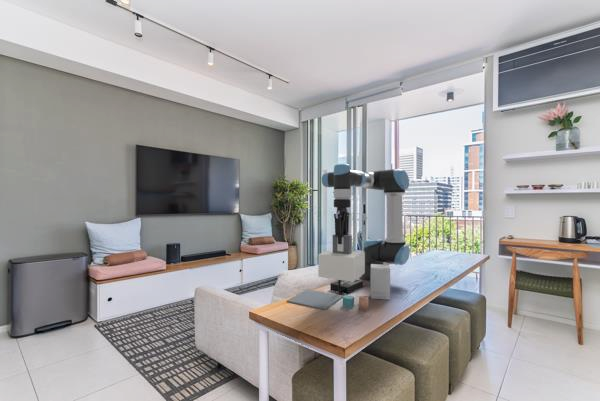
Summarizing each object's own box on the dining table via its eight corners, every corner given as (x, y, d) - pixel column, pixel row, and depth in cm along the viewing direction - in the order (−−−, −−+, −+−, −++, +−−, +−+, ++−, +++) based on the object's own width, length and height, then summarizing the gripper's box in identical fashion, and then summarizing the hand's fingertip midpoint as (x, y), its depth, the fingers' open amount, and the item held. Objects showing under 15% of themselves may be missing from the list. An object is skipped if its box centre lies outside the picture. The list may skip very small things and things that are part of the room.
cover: (332, 269, 143) (332, 232, 143) (364, 273, 136) (364, 234, 135) (318, 276, 130) (318, 236, 129) (353, 281, 122) (353, 238, 122)
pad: (307, 290, 153) (307, 289, 153) (343, 296, 143) (343, 295, 143) (286, 301, 136) (286, 300, 136) (325, 310, 126) (325, 308, 126)
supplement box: (390, 300, 138) (390, 268, 138) (370, 298, 140) (371, 267, 140) (388, 294, 147) (388, 264, 147) (370, 293, 149) (370, 263, 149)
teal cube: (346, 303, 134) (346, 295, 134) (354, 305, 132) (354, 296, 132) (342, 306, 130) (342, 297, 130) (351, 308, 128) (351, 299, 128)
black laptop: (344, 283, 167) (344, 253, 167) (366, 288, 158) (366, 256, 158) (323, 291, 152) (323, 258, 152) (346, 297, 143) (346, 262, 143)
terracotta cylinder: (360, 306, 130) (360, 295, 130) (369, 308, 128) (369, 297, 128) (357, 309, 127) (357, 298, 127) (366, 311, 125) (366, 299, 125)
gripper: (340, 198, 141) (340, 247, 141) (327, 198, 127) (327, 252, 127) (355, 198, 137) (355, 248, 138) (343, 198, 123) (343, 254, 124)
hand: (342, 250), depth 132 cm, fingers closed on cover, 3 cm apart
